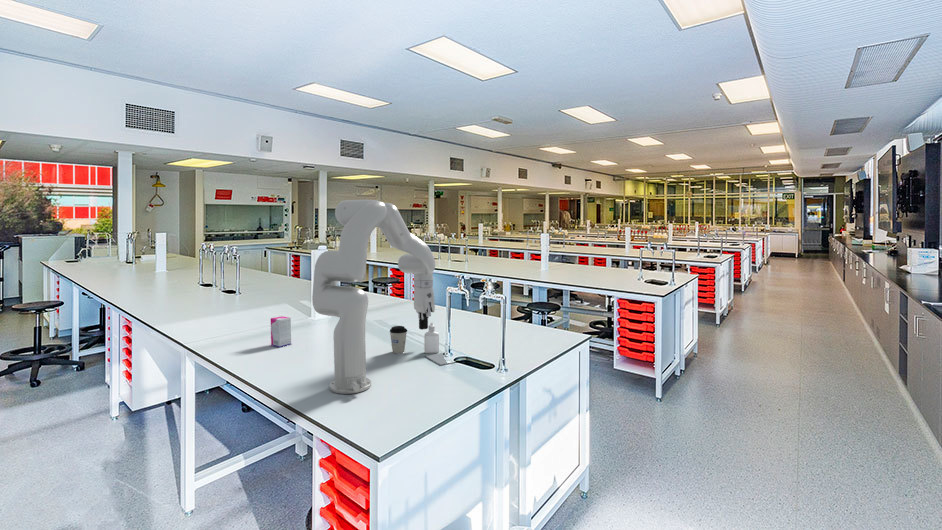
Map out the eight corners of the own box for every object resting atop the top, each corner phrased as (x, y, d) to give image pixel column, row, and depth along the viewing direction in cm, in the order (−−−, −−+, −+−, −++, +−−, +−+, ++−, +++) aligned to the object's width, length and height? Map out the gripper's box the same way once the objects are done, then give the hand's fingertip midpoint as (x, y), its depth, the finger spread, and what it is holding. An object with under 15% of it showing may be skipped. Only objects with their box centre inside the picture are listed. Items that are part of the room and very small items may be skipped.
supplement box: (292, 344, 190) (291, 317, 188) (279, 348, 185) (278, 320, 183) (283, 342, 193) (282, 315, 191) (270, 345, 188) (269, 318, 186)
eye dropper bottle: (436, 354, 178) (436, 324, 177) (422, 353, 179) (422, 323, 178) (440, 351, 182) (440, 321, 181) (427, 350, 184) (427, 320, 182)
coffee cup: (402, 348, 185) (402, 324, 184) (410, 353, 180) (410, 328, 178) (386, 351, 181) (386, 326, 180) (394, 355, 176) (393, 330, 175)
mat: (464, 361, 170) (464, 360, 170) (440, 365, 165) (440, 364, 165) (447, 352, 180) (447, 351, 180) (425, 356, 175) (425, 355, 175)
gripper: (440, 285, 180) (440, 331, 181) (423, 281, 192) (423, 324, 194) (423, 287, 175) (423, 334, 177) (406, 282, 188) (406, 326, 190)
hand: (423, 328), depth 186 cm, fingers closed
